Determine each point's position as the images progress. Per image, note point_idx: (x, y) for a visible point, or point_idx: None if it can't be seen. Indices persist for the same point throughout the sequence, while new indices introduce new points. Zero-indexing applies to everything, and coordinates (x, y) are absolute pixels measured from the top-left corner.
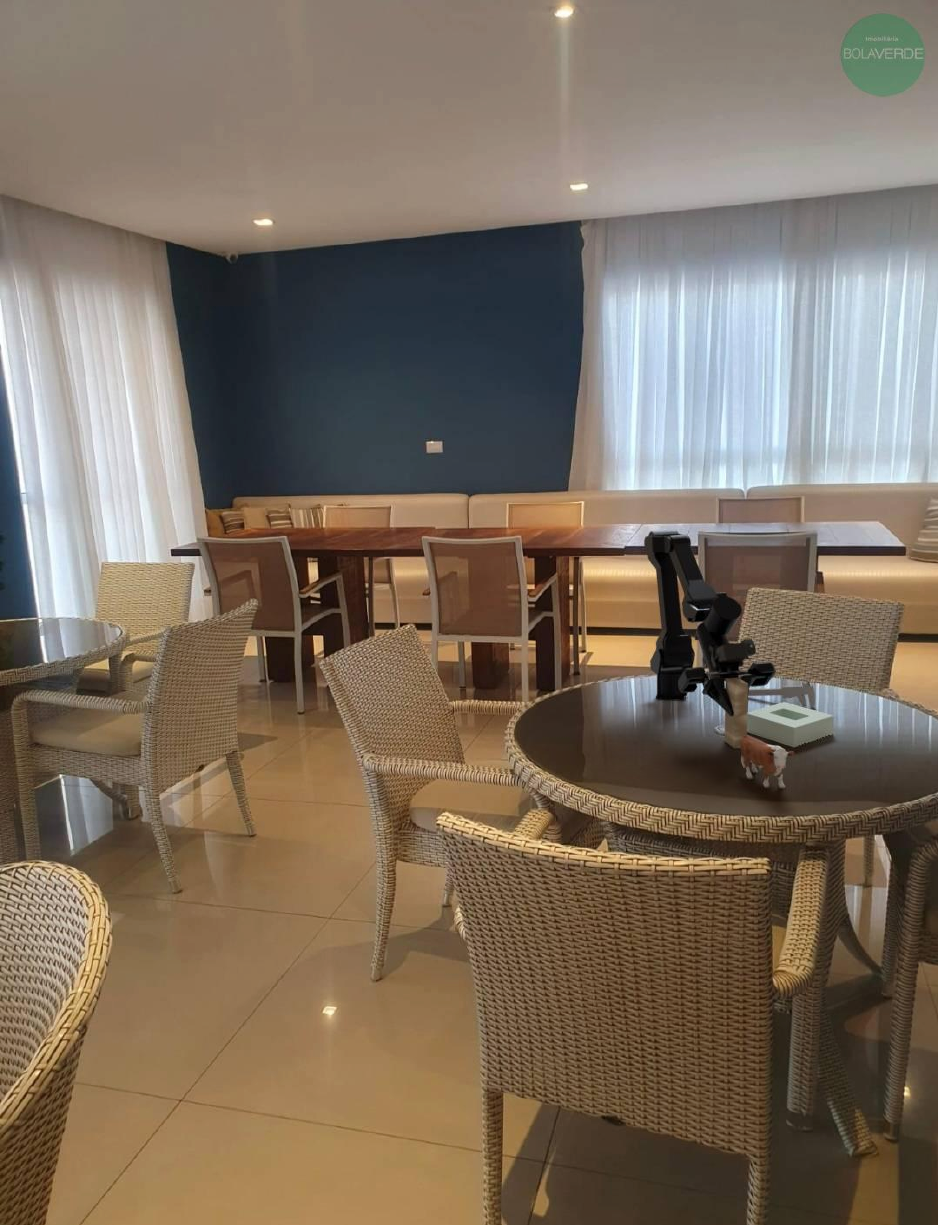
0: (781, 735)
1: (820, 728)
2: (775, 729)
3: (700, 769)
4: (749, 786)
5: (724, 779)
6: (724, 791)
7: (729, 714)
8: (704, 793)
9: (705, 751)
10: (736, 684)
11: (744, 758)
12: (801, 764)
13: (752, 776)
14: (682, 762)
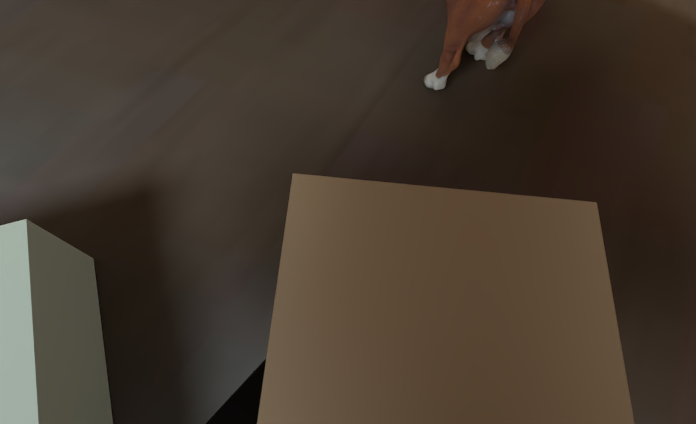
0: (78, 329)
1: None
2: (67, 376)
3: (626, 173)
4: None
5: (564, 71)
6: (594, 4)
7: None
8: (659, 11)
9: None
10: (578, 204)
11: (502, 39)
12: (219, 88)
13: (469, 42)
14: (688, 266)
